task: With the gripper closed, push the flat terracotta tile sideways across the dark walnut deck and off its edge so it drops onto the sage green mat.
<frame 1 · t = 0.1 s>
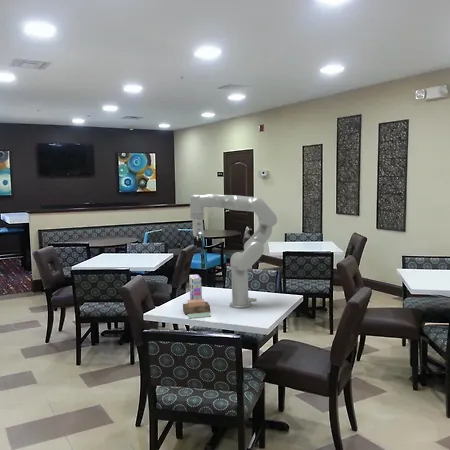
hand: (198, 246, 268), 37 cm above the table, tool pointing down, fingers open, 9 cm apart
candy box: (196, 303, 286), on the table
tile: (196, 302, 265), point 5 cm above the table, touching deck
mat: (199, 315, 258), on the table
deck: (196, 311, 266), on the table
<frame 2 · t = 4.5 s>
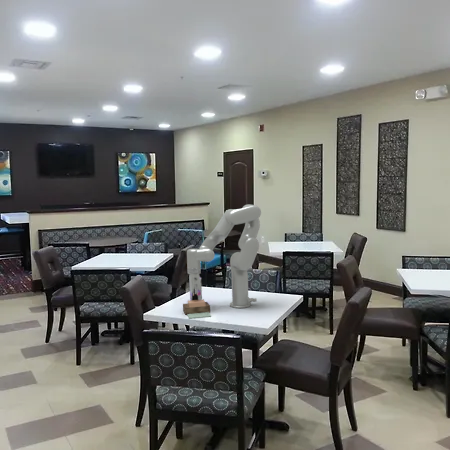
hand: (195, 302, 269), 5 cm above the table, tool pointing down, fingers closed
tile: (196, 303, 264), point 5 cm above the table
everything else where it was.
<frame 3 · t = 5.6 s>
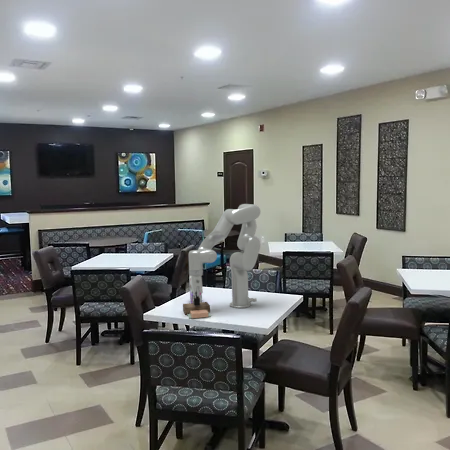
hand: (197, 304, 263), 5 cm above the table, tool pointing down, fingers closed
tile: (199, 313, 255), point 2 cm above the table, tilted 180°, touching mat
everything else where it was.
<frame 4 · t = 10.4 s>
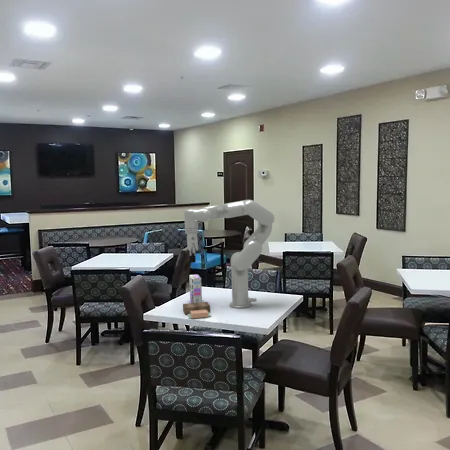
hand: (192, 262, 271), 27 cm above the table, tool pointing down, fingers closed
nothing on the table moved.
at the end: tile point 1.7 cm above the table; tile inside the target area (1.6 cm from its centre), point 1.7 cm above the table; the gripper is holding nothing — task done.
